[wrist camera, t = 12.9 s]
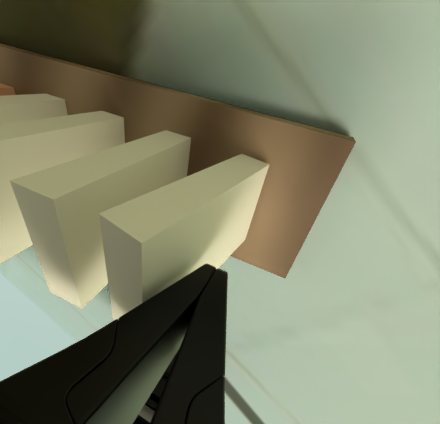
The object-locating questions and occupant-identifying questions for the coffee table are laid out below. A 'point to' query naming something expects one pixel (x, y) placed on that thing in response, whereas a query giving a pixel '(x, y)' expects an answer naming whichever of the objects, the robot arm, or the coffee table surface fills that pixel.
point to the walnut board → (206, 143)
